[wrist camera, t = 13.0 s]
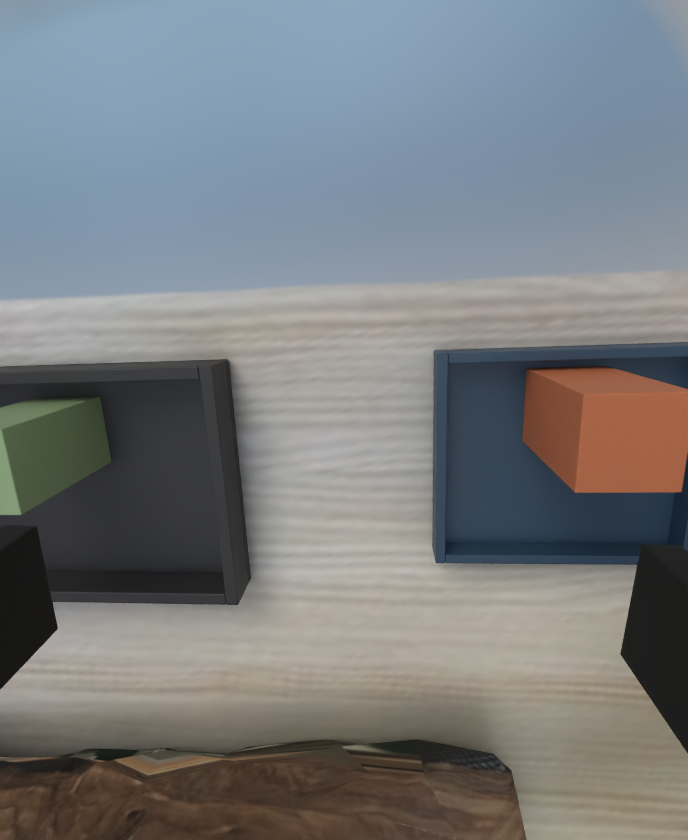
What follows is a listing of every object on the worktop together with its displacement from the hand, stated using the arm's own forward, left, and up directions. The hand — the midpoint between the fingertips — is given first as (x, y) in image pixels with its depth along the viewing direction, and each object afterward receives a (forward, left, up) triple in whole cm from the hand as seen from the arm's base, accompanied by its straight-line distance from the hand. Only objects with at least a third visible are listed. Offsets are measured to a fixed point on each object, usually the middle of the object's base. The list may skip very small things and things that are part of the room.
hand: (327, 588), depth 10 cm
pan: (+14, +14, -19) cm, 28 cm away
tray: (-12, -3, -19) cm, 23 cm away
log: (-7, +33, -20) cm, 39 cm away
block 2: (-10, -6, -19) cm, 22 cm away
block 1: (+16, +11, -19) cm, 27 cm away
